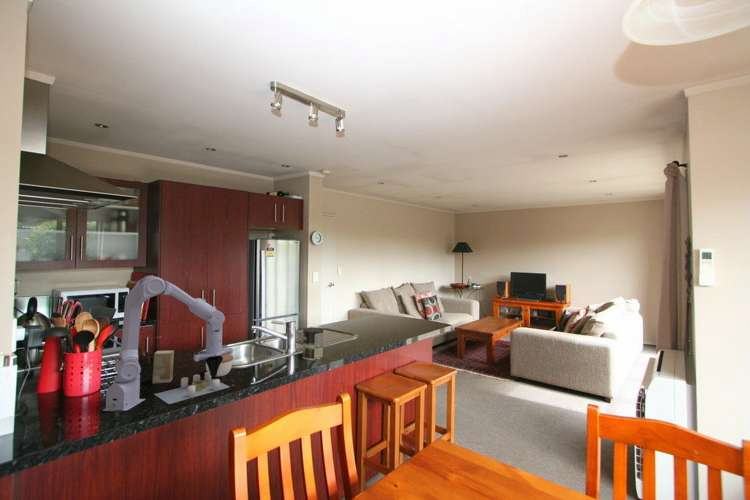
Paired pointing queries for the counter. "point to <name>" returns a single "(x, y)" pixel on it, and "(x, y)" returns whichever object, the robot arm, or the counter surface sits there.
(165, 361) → the skincare box
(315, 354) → the coffee can
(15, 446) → the counter surface
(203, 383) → the nut
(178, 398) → the board
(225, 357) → the lidded jar
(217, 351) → the robot arm
